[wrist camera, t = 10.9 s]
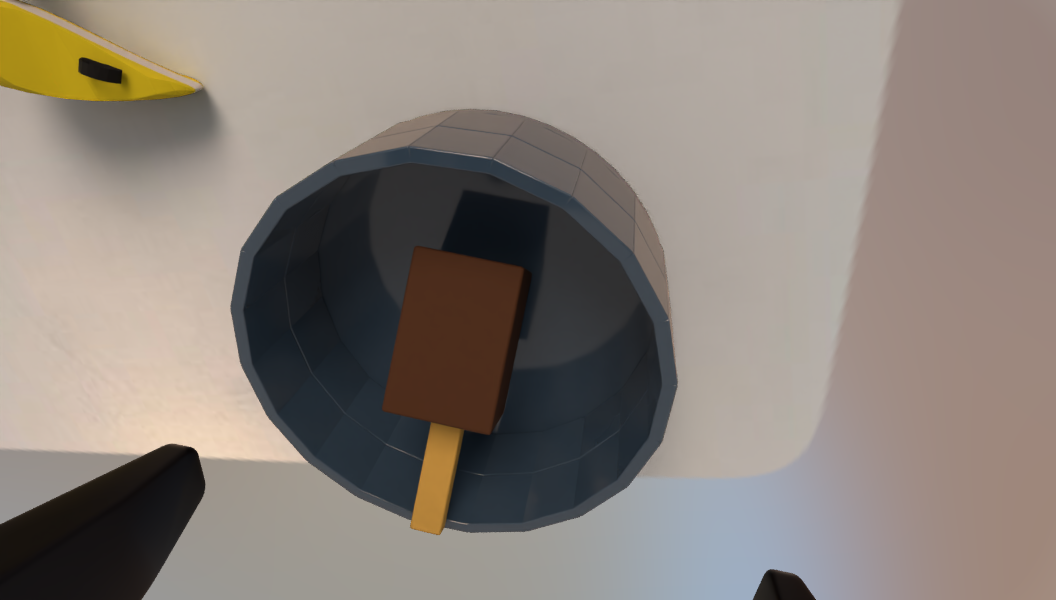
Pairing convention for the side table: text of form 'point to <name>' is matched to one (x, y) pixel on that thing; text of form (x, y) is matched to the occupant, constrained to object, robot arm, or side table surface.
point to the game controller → (76, 61)
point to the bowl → (546, 333)
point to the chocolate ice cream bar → (453, 361)
